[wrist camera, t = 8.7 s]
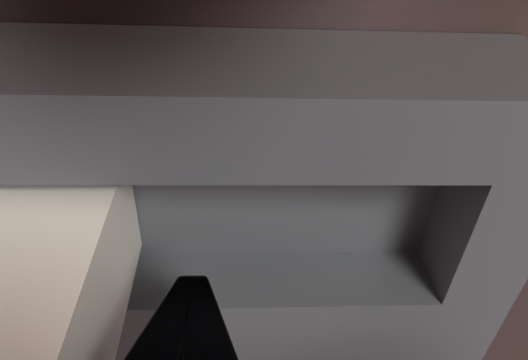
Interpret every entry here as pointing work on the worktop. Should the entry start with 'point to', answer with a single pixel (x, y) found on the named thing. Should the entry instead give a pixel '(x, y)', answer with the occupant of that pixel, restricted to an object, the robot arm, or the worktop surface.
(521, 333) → the worktop surface
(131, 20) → the worktop surface
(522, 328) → the worktop surface
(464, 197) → the switch bank
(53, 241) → the tab
